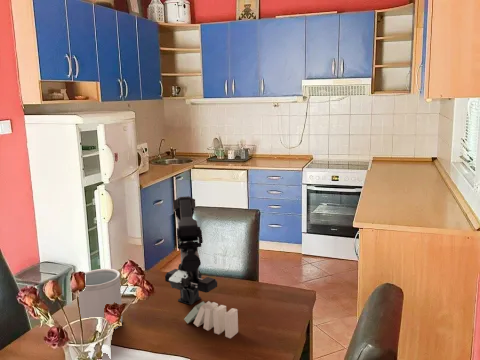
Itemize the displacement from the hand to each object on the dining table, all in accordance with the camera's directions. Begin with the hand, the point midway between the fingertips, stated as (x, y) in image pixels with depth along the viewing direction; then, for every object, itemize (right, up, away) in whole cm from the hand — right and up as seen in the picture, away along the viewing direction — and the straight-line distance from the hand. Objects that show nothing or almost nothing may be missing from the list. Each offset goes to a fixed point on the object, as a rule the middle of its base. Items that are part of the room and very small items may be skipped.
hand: (191, 303), depth 149 cm
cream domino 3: (+10, -7, -5) cm, 14 cm away
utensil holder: (-31, -8, +1) cm, 32 cm away
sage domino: (-1, -6, +2) cm, 6 cm away
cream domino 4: (+14, -8, -8) cm, 18 cm away
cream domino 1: (+3, -6, -1) cm, 7 cm away
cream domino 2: (+6, -7, -3) cm, 10 cm away
